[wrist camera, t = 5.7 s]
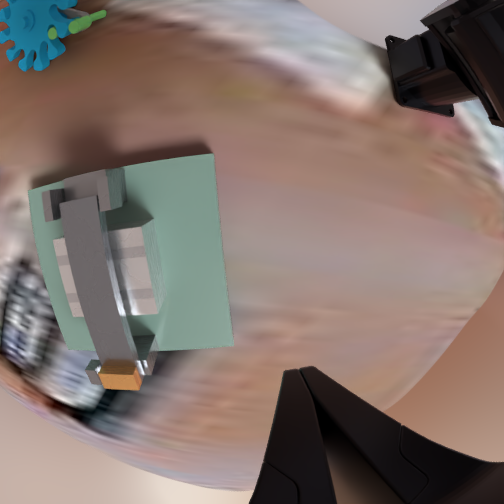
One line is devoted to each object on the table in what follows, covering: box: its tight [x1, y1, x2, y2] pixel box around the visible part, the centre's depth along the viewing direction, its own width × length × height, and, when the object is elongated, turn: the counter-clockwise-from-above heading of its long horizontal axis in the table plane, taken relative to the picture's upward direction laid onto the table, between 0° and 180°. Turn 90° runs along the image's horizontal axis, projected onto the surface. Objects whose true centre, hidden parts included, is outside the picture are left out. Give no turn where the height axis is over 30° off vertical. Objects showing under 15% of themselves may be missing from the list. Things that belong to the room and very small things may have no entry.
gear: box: [0, 0, 106, 72], centre depth 10 cm, size 11×6×10 cm
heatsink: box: [53, 219, 167, 317], centre depth 15 cm, size 6×5×3 cm
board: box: [28, 153, 234, 351], centre depth 17 cm, size 14×13×1 cm
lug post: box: [85, 335, 159, 385], centre depth 17 cm, size 4×1×6 cm, turn 94°
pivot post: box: [41, 169, 128, 222], centre depth 14 cm, size 4×2×6 cm, turn 94°
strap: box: [59, 195, 144, 390], centre depth 13 cm, size 11×2×2 cm, turn 4°
